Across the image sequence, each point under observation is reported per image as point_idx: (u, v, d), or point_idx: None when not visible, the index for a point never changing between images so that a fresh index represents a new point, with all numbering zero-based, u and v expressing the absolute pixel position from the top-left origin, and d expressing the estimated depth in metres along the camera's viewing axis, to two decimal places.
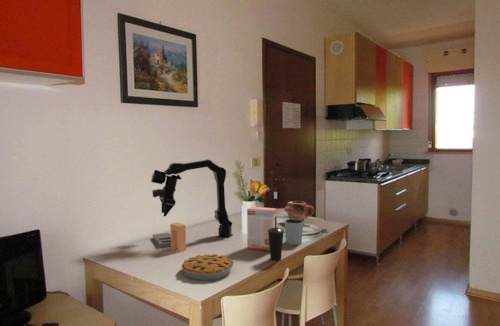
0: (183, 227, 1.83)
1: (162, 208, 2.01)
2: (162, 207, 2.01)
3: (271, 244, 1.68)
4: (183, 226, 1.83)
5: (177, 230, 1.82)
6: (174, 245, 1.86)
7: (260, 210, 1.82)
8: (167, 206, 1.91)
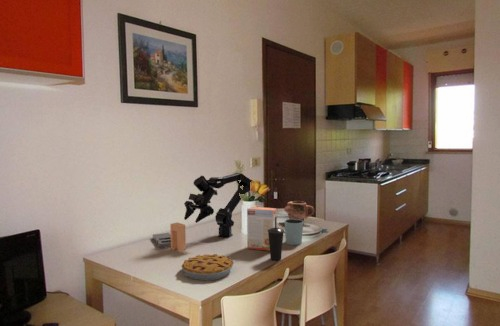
0: (183, 227, 1.83)
1: (186, 215, 1.94)
2: (187, 214, 1.94)
3: (271, 244, 1.68)
4: (183, 226, 1.83)
5: (177, 230, 1.82)
6: (174, 245, 1.86)
7: (260, 210, 1.82)
8: (203, 213, 1.89)
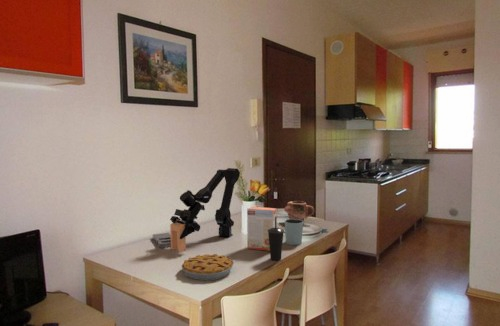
0: (183, 227, 1.83)
1: None
2: None
3: (271, 244, 1.68)
4: (183, 226, 1.83)
5: (177, 230, 1.82)
6: (174, 245, 1.86)
7: (260, 210, 1.82)
8: (187, 230, 1.83)
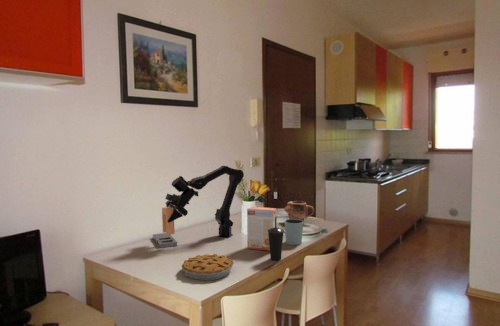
0: (172, 211, 1.88)
1: None
2: None
3: (271, 244, 1.68)
4: (171, 210, 1.88)
5: (165, 214, 1.87)
6: (165, 228, 1.93)
7: (260, 210, 1.82)
8: (176, 214, 1.88)
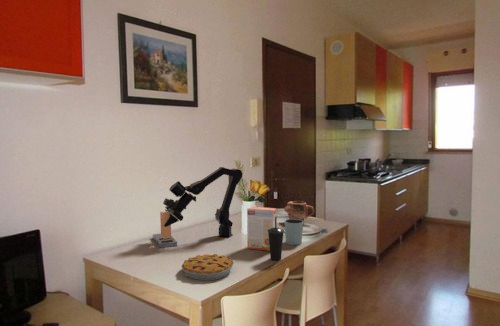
0: (168, 216, 1.92)
1: None
2: None
3: (271, 244, 1.68)
4: (168, 215, 1.91)
5: (162, 218, 1.91)
6: None
7: (260, 210, 1.82)
8: (172, 219, 1.91)
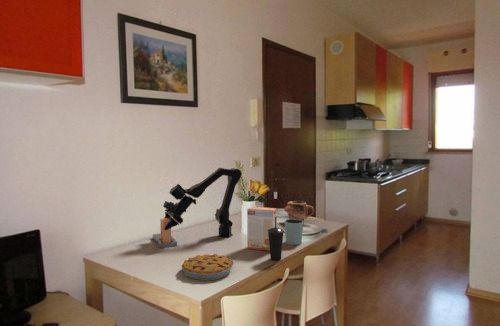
0: None
1: None
2: None
3: (271, 244, 1.68)
4: None
5: (162, 225, 1.92)
6: (163, 239, 1.97)
7: (260, 210, 1.82)
8: (172, 222, 1.90)
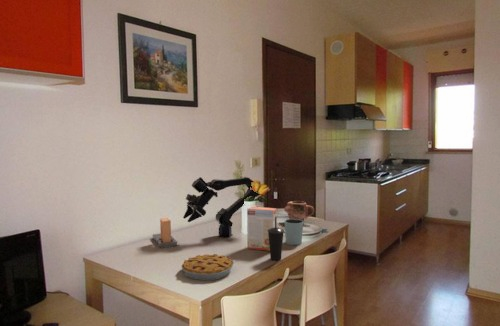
0: (168, 223, 1.92)
1: (185, 214, 2.04)
2: (186, 213, 2.04)
3: (271, 244, 1.68)
4: (168, 222, 1.92)
5: (162, 225, 1.92)
6: (163, 239, 1.97)
7: (260, 210, 1.82)
8: (195, 214, 1.95)
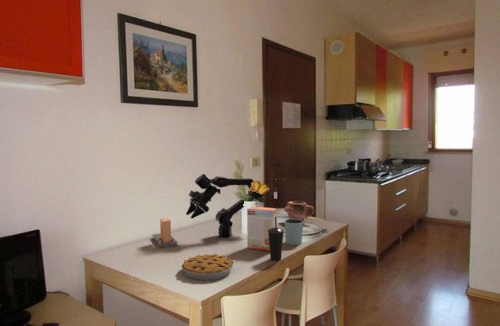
0: (168, 223, 1.92)
1: (188, 210, 2.04)
2: (189, 210, 2.04)
3: (271, 244, 1.68)
4: (168, 222, 1.92)
5: (162, 225, 1.92)
6: (163, 239, 1.97)
7: (260, 210, 1.82)
8: (198, 210, 1.96)
